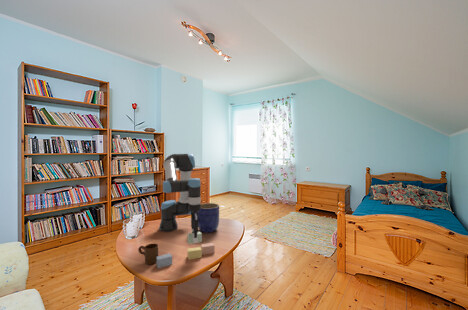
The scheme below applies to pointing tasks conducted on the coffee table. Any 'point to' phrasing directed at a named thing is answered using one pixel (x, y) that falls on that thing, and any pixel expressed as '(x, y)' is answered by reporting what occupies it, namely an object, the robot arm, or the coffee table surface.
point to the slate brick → (164, 260)
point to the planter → (208, 217)
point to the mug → (149, 253)
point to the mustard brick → (194, 253)
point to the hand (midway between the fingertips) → (194, 240)
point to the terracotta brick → (208, 248)
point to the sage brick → (190, 237)
